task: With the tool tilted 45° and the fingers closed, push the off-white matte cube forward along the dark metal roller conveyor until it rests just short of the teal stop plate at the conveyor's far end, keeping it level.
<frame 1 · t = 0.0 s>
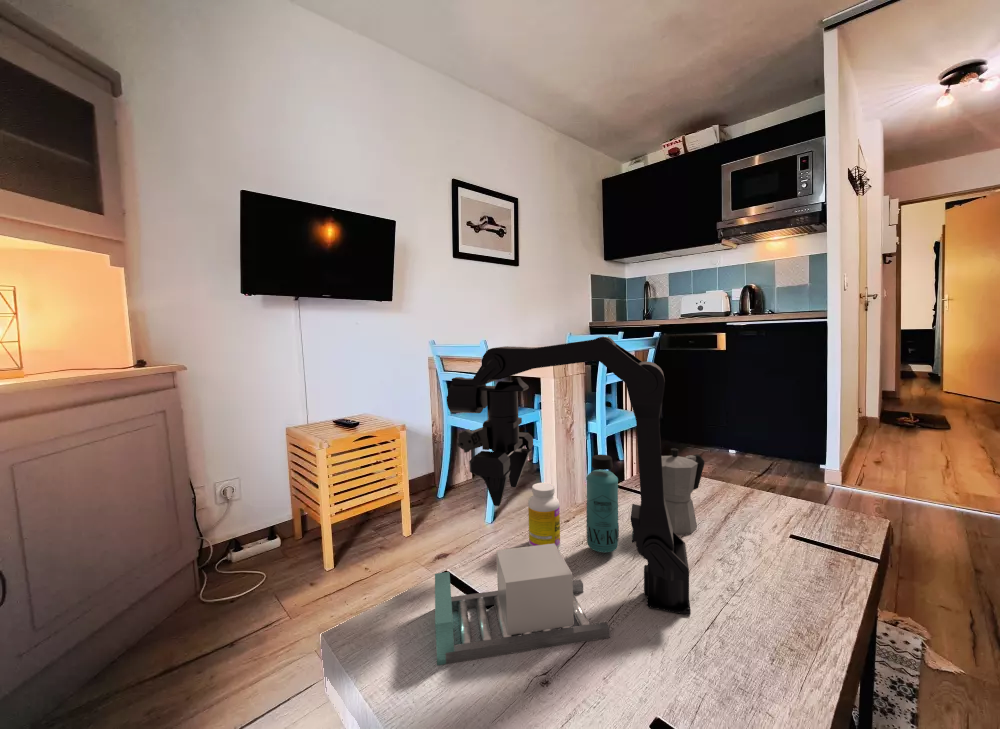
hand: (505, 495, 77), 15 cm above the table, tool pointing down, fingers open, 9 cm apart
off-white matte cube: (533, 610, 64), point 2 cm above the table, touching roller bed
beverage bottle: (602, 552, 84), on the table
coffeepot: (678, 525, 94), on the table
supplement bottle: (544, 546, 87), on the table
roller bed: (521, 621, 64), on the table
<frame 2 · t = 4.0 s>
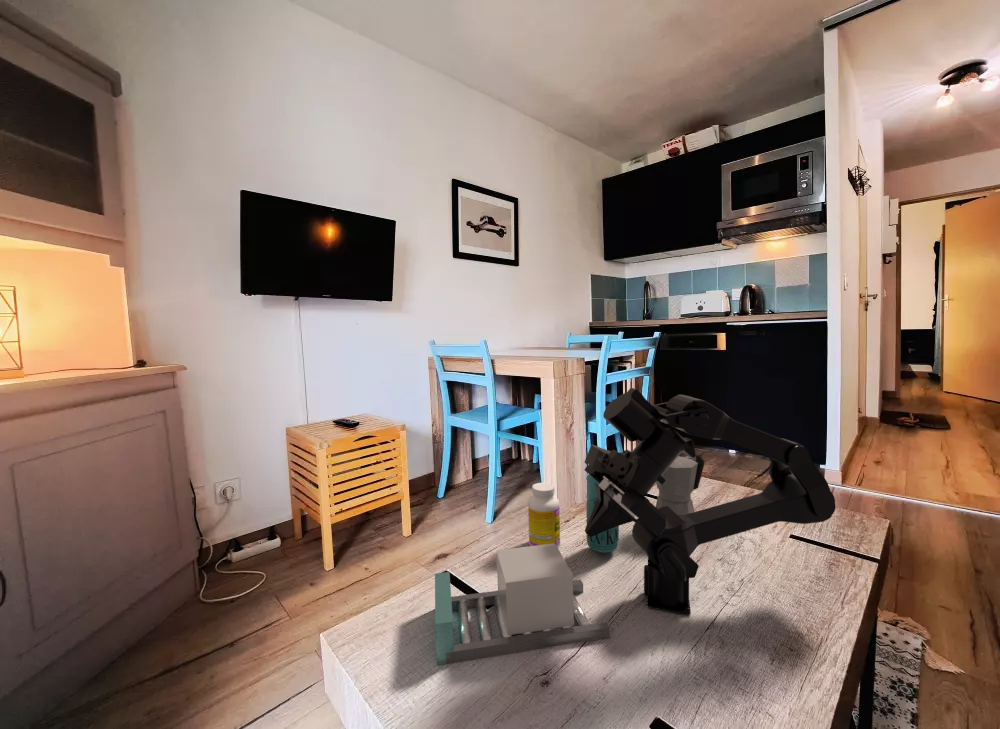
hand: (587, 534, 65), 13 cm above the table, tool tilted 45°, fingers closed
nothing on the table moved.
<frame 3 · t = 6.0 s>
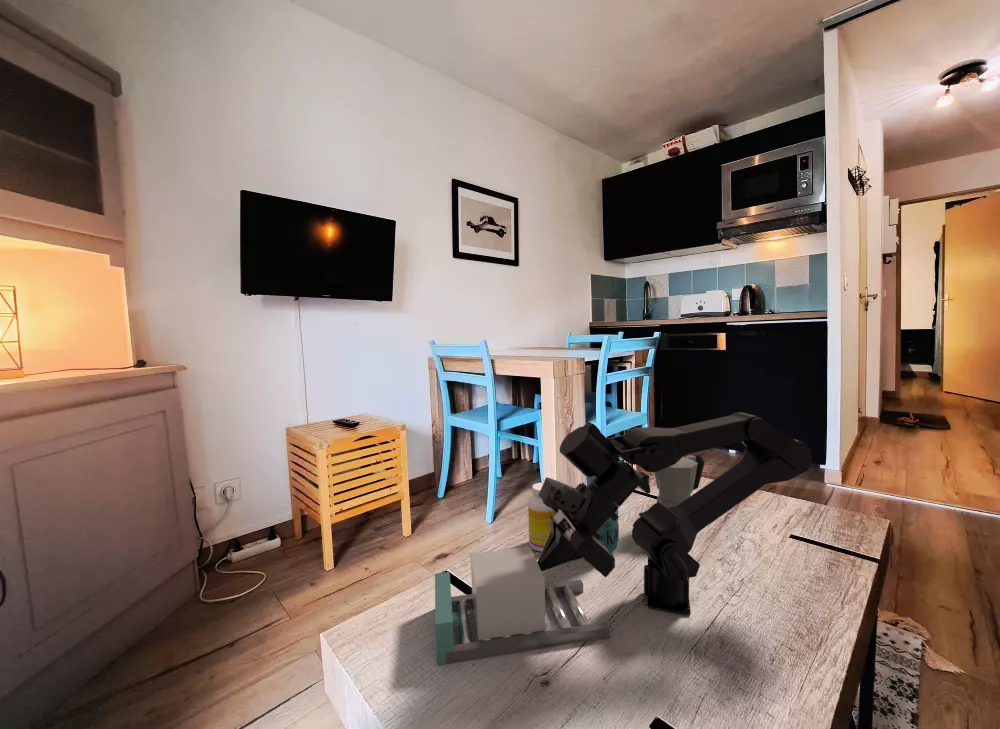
hand: (538, 568, 64), 8 cm above the table, tool tilted 45°, fingers closed
off-white matte cube: (507, 614, 64), point 2 cm above the table
everything else where it was.
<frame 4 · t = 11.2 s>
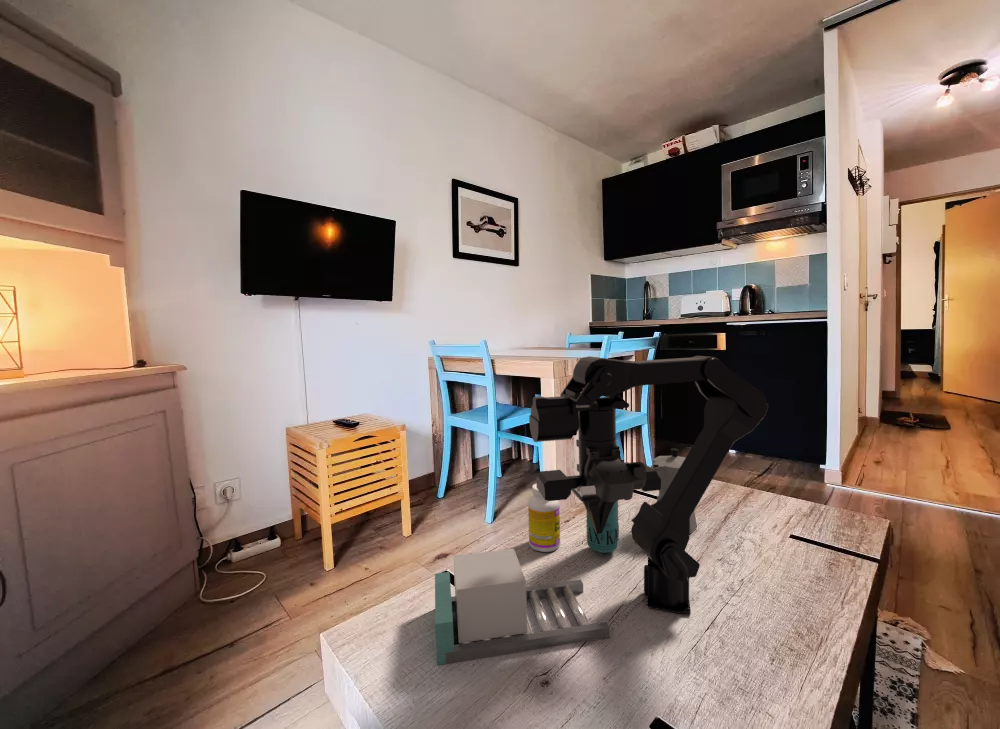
hand: (598, 532, 65), 13 cm above the table, tool pointing down, fingers closed
off-white matte cube: (489, 616, 63), point 2 cm above the table, touching roller bed
everything else where it was.
at the end: off-white matte cube inside the target area (0.5 cm from its centre), point 1.6 cm above the table; off-white matte cube moved 7.1 cm from its start; off-white matte cube tilted 0° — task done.
